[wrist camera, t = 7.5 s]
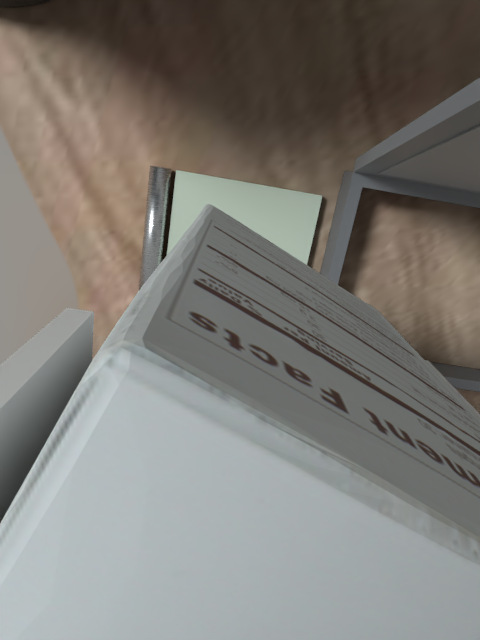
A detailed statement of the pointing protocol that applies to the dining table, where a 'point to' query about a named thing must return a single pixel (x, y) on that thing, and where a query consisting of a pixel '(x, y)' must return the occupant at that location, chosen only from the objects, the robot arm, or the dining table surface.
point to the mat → (247, 210)
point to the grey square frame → (343, 228)
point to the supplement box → (249, 469)
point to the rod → (154, 221)
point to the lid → (434, 146)
